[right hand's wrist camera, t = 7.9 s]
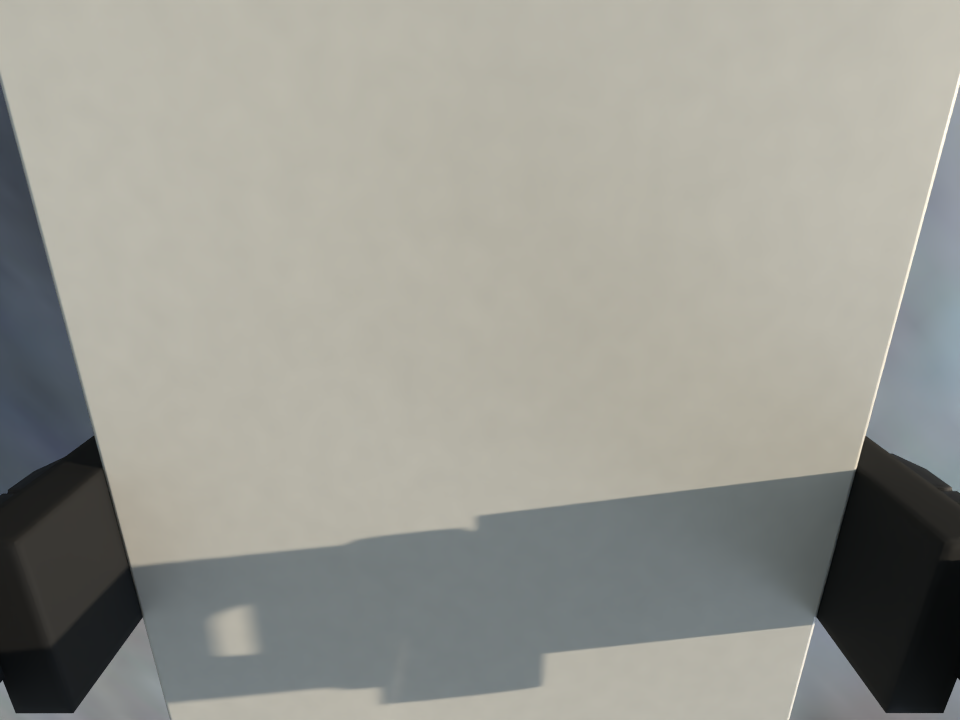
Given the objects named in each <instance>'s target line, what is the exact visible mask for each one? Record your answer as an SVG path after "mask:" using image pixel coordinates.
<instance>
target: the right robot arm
mask: <svg viewBox="0 0 960 720" xmlns="http://www.w3.org/2000/svg"><path fill="white" fill-rule="evenodd" d="M142 617H143V616H142V612H141V609H140V605H139V601H138V597H137V594H136V590H135V586H134V582H133V579H132V575H131V571H130V567H129V563H128V560H127V556H126V552H125V548H124V545H123V541H122V537H121V533H120V530H119V526H118V522H117V518H116V515H115V511H114V507H113V503H112V500H111V496H110V492H109V488H108V485H107V481H106V477H105V473H104V470H103V466H102V462H101V458H100V455H99V451H98V447H97V443H96V440H95V436H93V437H91V438H90V439H89V440H87V441H86V442H85V443H83V444H82V445H81V446H79V447H78V448H76V449H75V450H74V451H72V452H71V453H70V454H68V455H67V456H66V457H64V458H62V459H59V460H57V461H55V462H53V463H51V464H49V465H47V466H44V467H42V468H40V469H38V470H36V471H34V472H32V473H31V474H30V475H28V476H27V477H25V478H24V479H23V480H21V481H20V482H18V483H17V484H16V485H14V486H13V487H11V488H10V489H9V490H8V493H7V494H2V495H0V682H1V681H2V680H3V682H4V684H5V687H6V690H7V692H8V695H9V697H10V700H11V702H12V705H13V707H14V710H15V712H16V713H74V711H75V710H76V709H77V707H78V706H79V704H80V703H81V702H82V700H83V699H84V698H85V696H86V695H87V693H88V692H89V691H90V689H91V688H92V687H93V685H94V684H95V682H96V681H97V680H98V678H99V677H100V675H101V674H102V673H103V671H104V670H105V669H106V667H107V666H108V664H109V663H110V662H111V660H112V659H113V658H114V656H115V655H116V653H117V652H118V651H119V649H120V648H121V646H122V645H123V644H124V642H125V641H126V640H127V638H128V637H129V635H130V634H131V633H132V631H133V630H134V629H135V627H136V626H137V624H138V623H139V622H140V620H141V619H142ZM817 618H818V620H819V621H820V622H821V624H822V625H823V627H824V628H825V629H826V631H827V632H828V634H829V635H830V636H831V638H832V639H833V640H834V642H835V643H836V645H837V646H838V647H839V649H840V650H841V651H842V653H843V654H844V656H845V657H846V658H847V660H848V661H849V663H850V664H851V665H852V667H853V668H854V669H855V671H856V672H857V674H858V675H859V676H860V678H861V679H862V681H863V682H864V683H865V685H866V686H867V687H868V689H869V690H870V692H871V693H872V694H873V696H874V697H875V698H876V700H877V701H878V703H879V704H880V705H881V707H882V708H883V710H884V711H885V712H886V713H944V710H945V707H946V705H947V702H948V700H949V697H950V695H951V692H952V690H953V687H954V685H955V682H956V680H957V678H958V679H959V680H960V493H959V492H957V491H952V487H950V486H949V485H948V484H946V483H945V482H943V481H942V480H941V479H939V478H938V477H936V476H935V475H934V474H932V473H931V472H929V471H928V470H926V469H925V468H922V467H920V466H918V465H916V464H914V463H912V462H909V461H907V460H905V459H903V458H901V457H899V456H896V455H894V454H890V453H888V452H887V451H886V450H884V449H883V448H881V447H880V446H879V445H877V444H876V443H875V442H873V441H872V440H871V439H869V438H868V437H867V436H865V438H864V442H863V446H862V450H861V453H860V457H859V461H858V464H857V468H856V472H855V476H854V479H853V483H852V487H851V491H850V494H849V498H848V502H847V505H846V509H845V513H844V517H843V520H842V524H841V528H840V531H839V535H838V539H837V543H836V546H835V550H834V554H833V558H832V561H831V565H830V569H829V572H828V576H827V580H826V584H825V587H824V591H823V595H822V598H821V602H820V606H819V610H818V613H817Z"/></svg>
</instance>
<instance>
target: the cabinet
mask: <svg viewBox="0 0 960 720" xmlns="http://www.w3.org/2000/svg"><path fill="white" fill-rule="evenodd" d="M0 83H1V87H2V91H3V94H4V98H5V102H6V106H7V109H8V113H9V117H10V121H11V124H12V128H13V132H14V136H15V139H16V143H17V147H18V151H19V154H20V158H21V162H22V166H23V169H24V173H25V177H26V181H27V184H28V188H29V192H30V196H31V199H32V203H33V207H34V211H35V214H36V218H37V222H38V226H39V229H40V233H41V237H42V241H43V244H44V248H45V252H46V256H47V259H48V263H49V267H50V271H51V274H52V278H53V282H54V286H55V289H56V293H57V297H58V301H59V304H60V308H61V312H62V316H63V319H64V323H65V327H66V331H67V335H68V338H69V342H70V346H71V350H72V353H73V357H74V361H75V365H76V368H77V372H78V376H79V380H80V383H81V387H82V391H83V395H84V398H85V402H86V406H87V410H88V413H89V417H90V421H91V425H92V428H93V432H94V436H95V440H96V443H97V447H98V451H99V455H100V458H101V462H102V466H103V470H104V473H105V477H106V481H107V485H108V488H109V492H110V496H111V500H112V503H113V507H114V511H115V515H116V518H117V522H118V526H119V530H120V533H121V537H122V541H123V545H124V548H125V552H126V556H127V560H128V563H129V567H130V571H131V575H132V579H133V582H134V586H135V590H136V594H137V597H138V601H139V605H140V609H141V612H142V616H143V620H144V624H145V627H146V631H147V635H148V639H149V642H150V646H151V650H152V654H153V657H154V661H155V665H156V669H157V672H158V676H159V680H160V684H161V687H162V691H163V695H164V699H165V702H166V706H167V710H168V714H169V717H170V719H171V720H789V718H790V714H791V710H792V706H793V703H794V699H795V695H796V691H797V688H798V684H799V680H800V677H801V673H802V669H803V665H804V662H805V658H806V654H807V651H808V647H809V643H810V639H811V636H812V632H813V628H814V624H815V621H816V617H817V613H818V610H819V606H820V602H821V598H822V595H823V591H824V587H825V584H826V580H827V576H828V572H829V569H830V565H831V561H832V558H833V554H834V550H835V546H836V543H837V539H838V535H839V531H840V528H841V524H842V520H843V517H844V513H845V509H846V505H847V502H848V498H849V494H850V491H851V487H852V483H853V479H854V476H855V472H856V468H857V464H858V461H859V457H860V453H861V450H862V446H863V442H864V438H865V435H866V431H867V427H868V424H869V420H870V416H871V412H872V409H873V405H874V401H875V398H876V394H877V390H878V386H879V383H880V379H881V375H882V371H883V368H884V364H885V360H886V357H887V353H888V349H889V345H890V342H891V338H892V334H893V331H894V327H895V323H896V319H897V316H898V312H899V308H900V304H901V301H902V297H903V293H904V290H905V286H906V282H907V278H908V275H909V271H910V267H911V264H912V260H913V256H914V252H915V249H916V245H917V241H918V238H919V234H920V230H921V226H922V223H923V219H924V215H925V211H926V208H927V204H928V200H929V197H930V193H931V189H932V185H933V182H934V178H935V174H936V171H937V167H938V163H939V159H940V156H941V152H942V148H943V144H944V141H945V137H946V133H947V130H948V126H949V122H950V118H951V115H952V111H953V107H954V104H955V100H956V96H957V92H958V89H959V85H960V0H0Z"/></svg>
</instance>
